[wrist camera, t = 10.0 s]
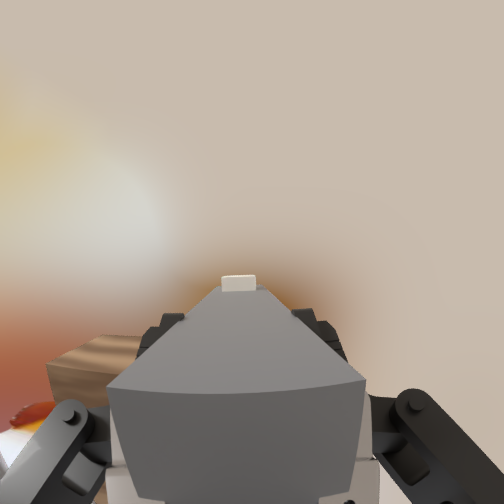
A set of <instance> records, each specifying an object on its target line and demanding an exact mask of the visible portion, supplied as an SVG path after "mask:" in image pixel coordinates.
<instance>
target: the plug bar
mask: <svg viewBox="0 0 504 504" xmlns="http://www.w3.org/2000/svg"><path fill="white" fill-rule="evenodd" d="M221 279H222V286H217V287H216V288H215V289H214V290H212V291H211V292H210V293H209V294H208V295H207V296H206V297H205V298H204V299H203V300H201V302H199V303H198V304H197V305H196V306H195V307H194V308H193V309H191V310H190V311H189V312H188V313H187V314H186V315H185V317H184V318H183V319H182V320H181V321H178V322H177V323H176V324H175V325H174V326H173V327H172V328H170V329H169V330H168V331H167V332H166V333H165V334H164V335H163V336H162V337H160V338H159V339H158V340H157V341H156V342H155V343H154V344H153V345H152V346H150V347H149V348H148V349H147V350H146V351H145V352H144V353H143V354H142V355H141V356H139V357H138V358H137V359H136V360H135V361H134V362H133V363H132V364H131V365H129V366H128V367H127V368H126V369H125V370H124V371H123V372H122V373H121V374H119V375H118V376H117V377H116V378H115V379H114V380H113V381H112V382H111V383H109V384H108V385H107V386H106V390H107V395H108V400H109V404H110V408H111V413H112V417H113V421H114V424H115V428H116V432H117V435H118V439H119V442H120V446H121V449H122V452H123V455H124V459H125V462H126V465H127V468H128V470H129V473H130V476H131V479H132V482H133V484H134V487H135V489H136V492H137V495H138V497H139V498H144V499H150V500H156V501H163V502H165V503H166V504H317V503H318V500H319V498H321V497H327V496H332V495H336V494H341V493H345V492H349V489H350V485H351V480H352V475H353V470H354V465H355V460H356V455H357V449H358V443H359V436H360V429H361V422H362V415H363V406H364V397H365V387H366V379H365V378H364V377H363V376H362V375H361V374H359V373H358V372H357V371H356V370H355V369H354V368H353V367H352V366H351V365H349V364H348V363H347V362H346V361H345V360H344V359H343V358H342V357H341V356H339V355H338V354H337V353H336V352H335V351H334V350H333V349H332V348H330V347H329V346H328V345H327V344H326V343H325V342H324V341H323V340H322V339H321V338H319V337H318V336H317V335H316V334H315V333H314V332H313V331H312V330H311V329H310V328H308V327H307V326H306V325H305V324H304V323H303V322H302V321H301V320H300V319H299V318H297V317H295V316H294V315H293V314H292V313H291V311H290V310H289V309H288V308H287V307H285V306H284V305H283V304H282V303H281V302H280V301H279V300H278V299H277V298H276V297H275V296H274V295H272V294H271V293H270V292H269V291H268V290H267V289H266V288H265V287H264V286H263V285H256V276H254V275H238V276H237V275H236V276H223V277H222V278H221ZM344 504H346V503H344Z"/></svg>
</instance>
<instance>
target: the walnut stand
mask: <svg viewBox="0 0 504 504" xmlns="http://www.w3.org/2000/svg"><path fill="white" fill-rule="evenodd" d="M141 339H142V337H140V336H139V337H138V336H118V335H101V336H99V337H97V338H95V339H93V340H91V341H89V342H87V343H85V344H83V345H81V346H80V347H78V348H76V349H74V350H72V351H70V352H68V353H66V354H64V355H62V356H60V357H58V358H56V359H54V360H52V361H50V362H48V363H46V368H47V372H48V376H49V381H50V385H51V389H52V393H53V397H54V400H55V404H56V406H57V405H58V404H59V403H60V402H62V401H64V400H68V399H75V400H78V401H80V402H82V403H83V404H84V405H85V407H86V408H94V407H101V406H107V405H110V404H109V400H108V395H107V390H106V386H107V385H108V384H109V383H111V382H112V381H113V380H114V379H115V378H116V377H117V376H118V375H119V374H121V373H122V372H123V371H124V370H125V369H126V368H127V367H128V366H129V365H131V364H132V363H133V362H134V361H135V358H136V357H137V356H136V355H137V352H138V349H139V345H140V342H141ZM94 501H95V503H96V504H108V497H107V489H106V480H105V482H104V483H103V485H102V486H101V488H100V490H99V491H98V493H97V495H96V496H95V498H94Z"/></svg>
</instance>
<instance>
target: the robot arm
mask: <svg viewBox="0 0 504 504" xmlns="http://www.w3.org/2000/svg"><path fill="white" fill-rule="evenodd" d="M291 313H292V314H293V315H294V316H295V317H297V318H299V319H300V320H301V321H302V322H303V323H304V324H305V325H306V326H307V327H308V328H310V329H311V330H312V331H313V332H314V333H315V334H316V335H317V336H318V337H319V338H321V339H322V340H323V341H324V342H325V343H326V344H327V345H328V346H329V347H330V348H332V349H333V350H334V351H335V352H336V353H337V354H338V355H339V356H341V357H342V358H343V359H344V360H345V361H346V362H347V363H348V361H347V358H346V356H345V354H344V351H343V350H342V346H341V343H340V342H339V338H338V335H337V333H336V330H335V329H334V328H333V327H332V326H331V325H330V324H329V323H328V322H327V321H316V318H315V315H314V312H313V310H312V308H308V309H294V310H292V311H291ZM184 317H185V316H184V314H183V313H164V314H163V316H162V319H161V323H160V326H159V327H150V328H149V329H148V330H147V332H146V333H145V334H144V335H143V336H142V339H141V342H140V345H139V349H138V352H137V355H136V356H137V357H136V358H135V360H136V359H137V358H138V357H139V356H141V355H142V354H143V353H144V352H145V351H146V350H147V349H148V348H149V347H150V346H152V345H153V344H154V343H155V342H156V341H157V340H158V339H159V338H160V337H162V336H163V335H164V334H165V333H166V332H167V331H168V330H169V329H170V328H172V327H173V326H174V325H175V324H176V323H177V322H178V321H181V320H182V319H183V318H184ZM372 453H373V455H374V456H375V457H376V459H374V458H373V455H372ZM377 460H378V461H379V462H380V464H381V465H382V466H383V468H384V469H385V470H386V471H387V472H388V474H389V475H390V476H391V478H392V479H393V480H394V481H395V483H396V484H397V485H398V486H399V487H400V489H401V490H402V491H403V493H404V494H405V495H406V496H407V498H408V499H409V500H410V501H411V502H412V504H504V474H503V473H502V472H501V471H500V470H499V469H498V468H497V466H496V465H495V464H494V463H493V462H492V461H491V460H490V459H489V458H488V457H487V456H486V454H485V453H484V452H483V451H482V450H481V449H480V448H479V447H478V446H477V445H476V444H475V443H474V442H473V440H472V439H471V438H470V437H469V436H468V435H467V434H466V433H465V432H464V431H463V430H462V429H461V428H460V427H459V426H458V425H457V424H456V423H455V421H454V420H453V419H452V418H451V417H449V415H448V414H447V413H446V412H445V411H444V410H443V409H442V408H441V407H440V406H439V405H438V404H437V403H436V402H435V401H434V400H433V399H432V398H431V397H430V396H429V395H428V394H427V393H426V392H424V391H422V390H419V389H407V390H404V391H403V392H401V393H400V394H399V395H398V397H397V398H387V397H376V396H372V395H369V394H368V393H367V392H366V391H365V397H364V406H363V415H362V422H361V429H360V436H359V443H358V449H357V455H356V460H355V465H354V470H353V475H352V480H351V485H350V489H349V492H345V493H341V494H336V495H332V496H327V497H321V498H319V500H318V503H317V504H344V503H346V504H379V483H380V468H379V463H378V461H377ZM105 480H106V489H107V497H108V504H166V503H165V502H163V501H156V500H150V499H144V498H139V497H138V495H137V492H136V489H135V487H134V484H133V482H132V479H131V476H130V473H129V470H128V468H127V465H126V462H125V459H124V455H123V452H122V449H121V446H120V442H119V439H118V435H117V432H116V428H115V424H114V421H113V417H112V413H111V408H110V405H107V406H101V407H94V408H86V407H85V405H84V404H83V403H82V402H80V401H78V400H75V399H68V400H64V401H62V402H60V403H59V404H58V405H57V406H56V407H55V408H54V409H53V411H52V412H51V413H50V414H49V416H48V417H47V418H46V420H45V421H44V422H43V423H42V425H41V426H40V427H39V429H38V430H37V431H36V432H35V434H34V435H33V436H32V438H31V439H30V440H29V442H28V443H27V444H26V446H25V447H24V448H23V450H22V451H21V452H20V454H19V455H18V457H17V458H16V459H15V461H14V462H13V464H12V465H11V466H10V468H8V466H7V464H6V462H5V460H4V458H3V456H2V454H1V452H0V504H91V503H92V501H93V499H94V498H95V496H96V495H97V493H98V491H99V490H100V488H101V486H102V485H103V483H104V482H105Z"/></svg>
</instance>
